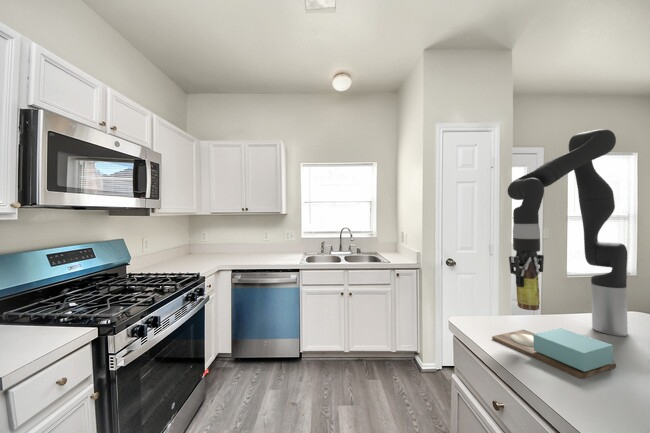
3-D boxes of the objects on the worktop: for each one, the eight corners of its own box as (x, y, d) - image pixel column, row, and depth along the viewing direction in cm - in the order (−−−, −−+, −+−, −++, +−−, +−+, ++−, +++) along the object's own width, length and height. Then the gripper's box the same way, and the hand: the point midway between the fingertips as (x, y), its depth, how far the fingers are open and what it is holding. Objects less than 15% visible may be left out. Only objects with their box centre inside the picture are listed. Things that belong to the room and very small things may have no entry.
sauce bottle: (543, 311, 90) (542, 251, 90) (522, 310, 91) (520, 251, 91) (533, 305, 96) (531, 249, 97) (513, 304, 98) (511, 249, 98)
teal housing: (560, 343, 90) (560, 328, 90) (613, 362, 78) (612, 345, 78) (533, 350, 86) (533, 334, 86) (584, 371, 74) (584, 353, 74)
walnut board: (523, 332, 103) (523, 328, 103) (615, 367, 79) (615, 362, 79) (492, 339, 98) (492, 335, 98) (580, 378, 73) (580, 373, 73)
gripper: (522, 238, 88) (523, 290, 88) (552, 236, 93) (553, 286, 93) (500, 237, 95) (501, 285, 95) (529, 235, 100) (530, 281, 100)
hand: (527, 285), depth 94 cm, fingers closed on sauce bottle, 6 cm apart
